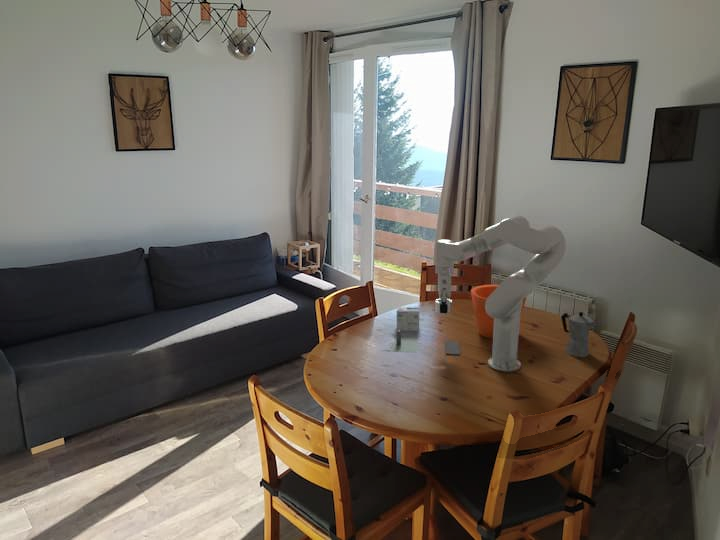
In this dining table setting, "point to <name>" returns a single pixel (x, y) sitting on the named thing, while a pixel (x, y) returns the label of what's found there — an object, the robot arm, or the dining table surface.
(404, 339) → the peg stand
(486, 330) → the flowerpot
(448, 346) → the charcoal mat
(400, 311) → the light bulb box
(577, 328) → the coffeepot
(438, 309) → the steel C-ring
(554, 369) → the dining table surface
